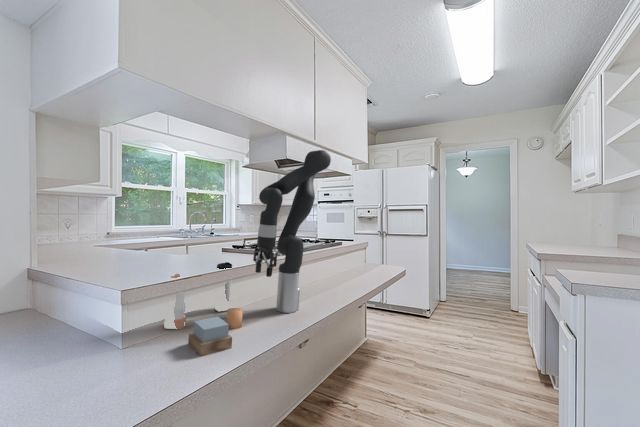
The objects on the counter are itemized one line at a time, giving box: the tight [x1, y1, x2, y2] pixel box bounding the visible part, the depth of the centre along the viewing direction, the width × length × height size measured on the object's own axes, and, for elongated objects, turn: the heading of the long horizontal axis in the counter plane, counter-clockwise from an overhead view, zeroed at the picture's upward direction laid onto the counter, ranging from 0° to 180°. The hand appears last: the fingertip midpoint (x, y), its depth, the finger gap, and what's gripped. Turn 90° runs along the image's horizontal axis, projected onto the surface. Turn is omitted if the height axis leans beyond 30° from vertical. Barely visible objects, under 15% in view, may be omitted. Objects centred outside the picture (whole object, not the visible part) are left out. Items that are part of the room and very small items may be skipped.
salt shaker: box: [170, 273, 186, 331], centre depth 115 cm, size 7×7×19 cm
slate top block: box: [193, 316, 230, 343], centre depth 101 cm, size 8×8×4 cm
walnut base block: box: [187, 331, 233, 357], centre depth 102 cm, size 10×10×4 cm
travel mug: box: [216, 261, 233, 301], centre depth 136 cm, size 6×7×20 cm
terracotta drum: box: [226, 307, 244, 330], centre depth 119 cm, size 6×6×6 cm
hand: (263, 274), depth 132 cm, fingers open, 8 cm apart
